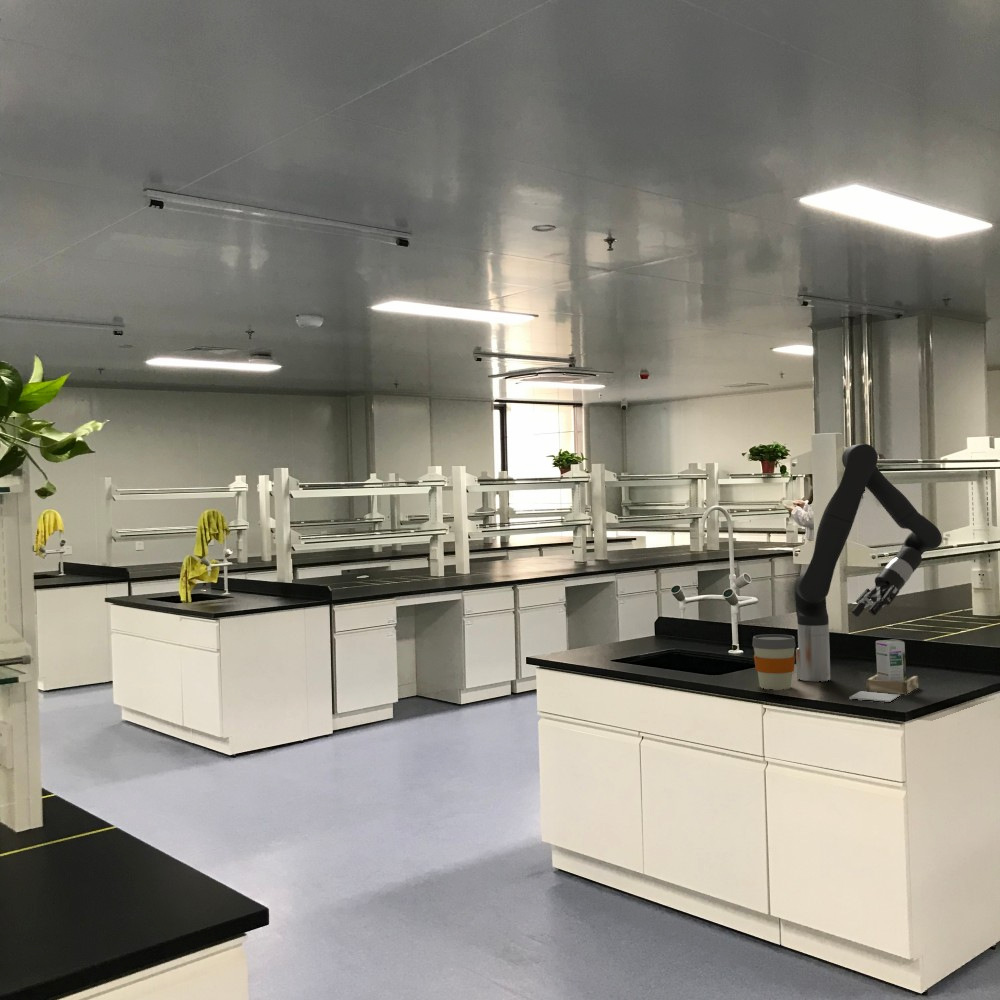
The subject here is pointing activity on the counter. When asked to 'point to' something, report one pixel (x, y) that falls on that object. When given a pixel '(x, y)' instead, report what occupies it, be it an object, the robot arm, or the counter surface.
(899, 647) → the syrup box
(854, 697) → the grey mat
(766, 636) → the reusable coffee cup
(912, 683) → the maple sleeve
